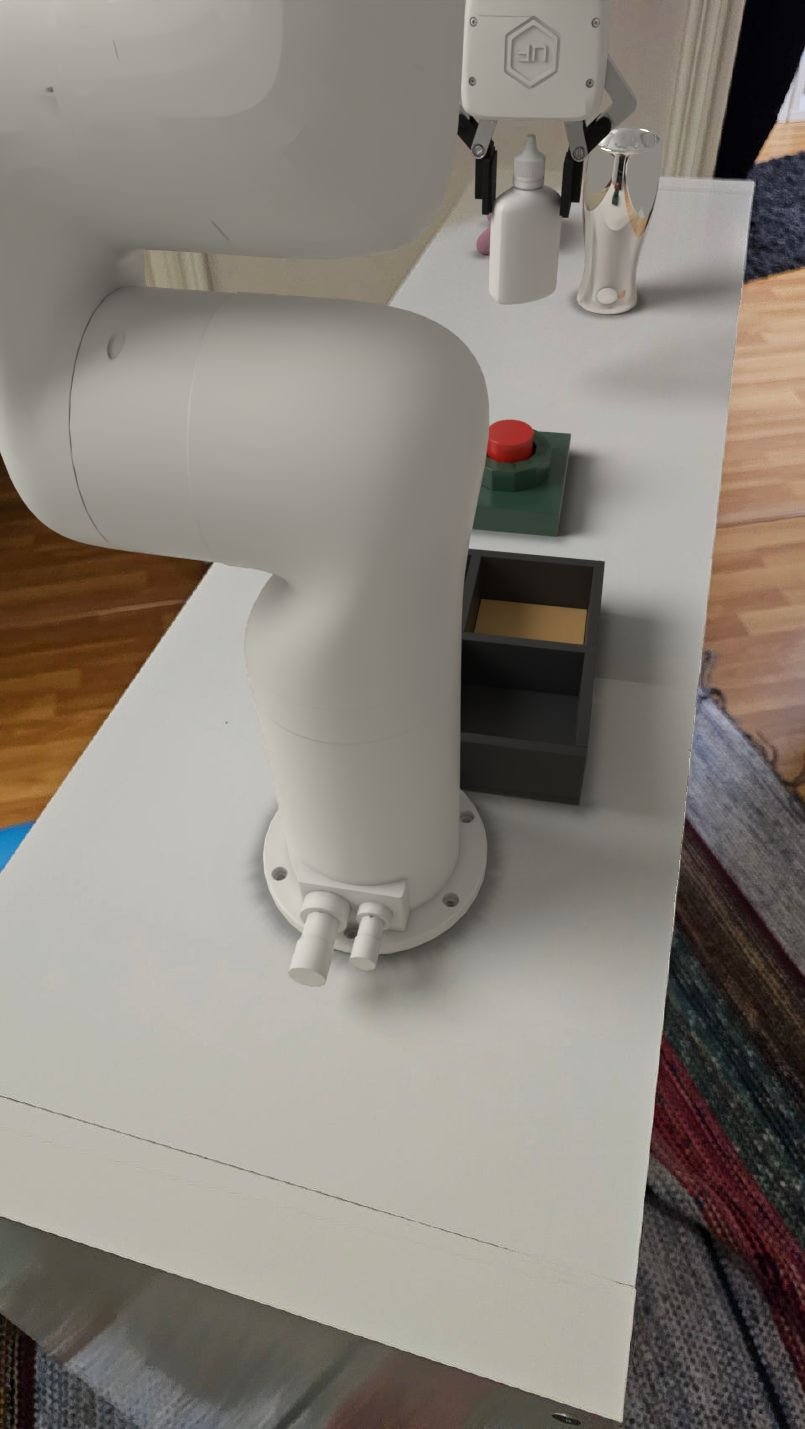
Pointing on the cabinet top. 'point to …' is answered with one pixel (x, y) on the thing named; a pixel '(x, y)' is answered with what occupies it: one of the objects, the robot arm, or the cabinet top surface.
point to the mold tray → (527, 673)
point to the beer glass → (617, 216)
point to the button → (510, 441)
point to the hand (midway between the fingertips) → (526, 208)
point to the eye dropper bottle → (525, 233)
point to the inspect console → (525, 489)
